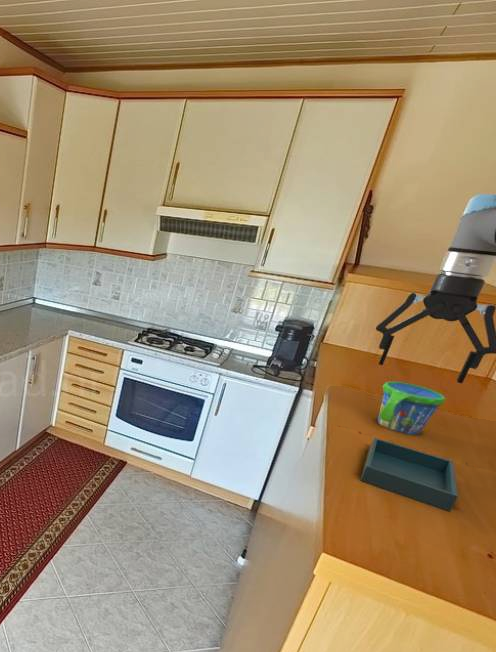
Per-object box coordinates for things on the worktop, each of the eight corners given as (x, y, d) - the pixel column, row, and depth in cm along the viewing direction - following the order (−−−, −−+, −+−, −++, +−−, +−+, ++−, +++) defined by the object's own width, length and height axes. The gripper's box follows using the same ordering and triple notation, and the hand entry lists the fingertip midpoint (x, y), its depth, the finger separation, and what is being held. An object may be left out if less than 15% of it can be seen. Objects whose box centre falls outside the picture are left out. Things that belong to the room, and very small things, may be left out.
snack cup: (398, 443, 105) (418, 400, 101) (350, 422, 114) (366, 382, 110) (444, 438, 110) (463, 397, 107) (394, 419, 119) (411, 380, 116)
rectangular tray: (446, 475, 93) (453, 461, 92) (450, 511, 80) (458, 496, 79) (368, 450, 100) (374, 437, 99) (360, 480, 87) (366, 466, 86)
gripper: (385, 266, 104) (349, 359, 112) (552, 288, 90) (498, 394, 97) (387, 265, 110) (353, 354, 118) (545, 285, 95) (494, 386, 103)
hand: (418, 372), depth 107 cm, fingers open, 13 cm apart
